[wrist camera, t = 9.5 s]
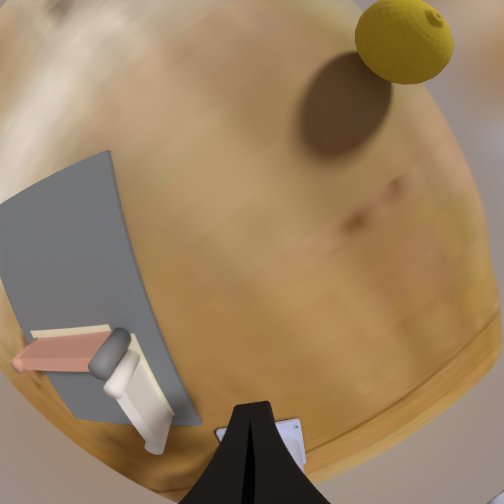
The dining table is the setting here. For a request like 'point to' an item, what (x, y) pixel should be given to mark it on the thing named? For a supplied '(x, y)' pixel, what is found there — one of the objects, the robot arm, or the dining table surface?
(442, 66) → the lemon
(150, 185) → the dining table surface
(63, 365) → the pink rounded-end bar
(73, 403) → the mat
